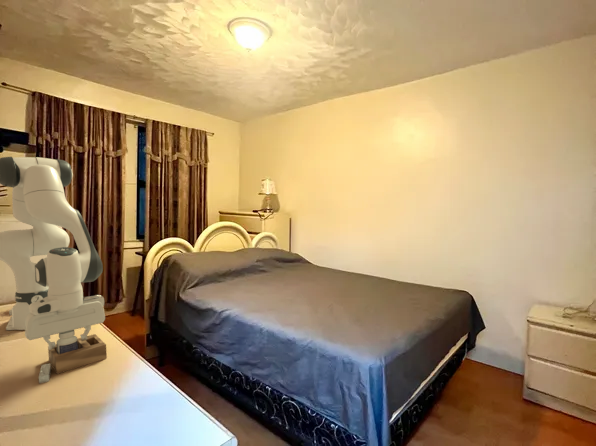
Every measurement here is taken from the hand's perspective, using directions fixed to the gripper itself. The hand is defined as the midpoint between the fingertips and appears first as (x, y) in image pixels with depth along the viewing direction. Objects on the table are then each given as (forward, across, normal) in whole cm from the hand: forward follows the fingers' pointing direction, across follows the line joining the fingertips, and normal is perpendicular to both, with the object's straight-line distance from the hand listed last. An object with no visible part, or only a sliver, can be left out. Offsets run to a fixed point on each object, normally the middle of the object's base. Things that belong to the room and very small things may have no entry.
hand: (68, 344), depth 102 cm
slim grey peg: (+6, +7, +5) cm, 10 cm away
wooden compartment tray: (+6, -2, 0) cm, 6 cm away
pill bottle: (+6, 0, 0) cm, 6 cm away
